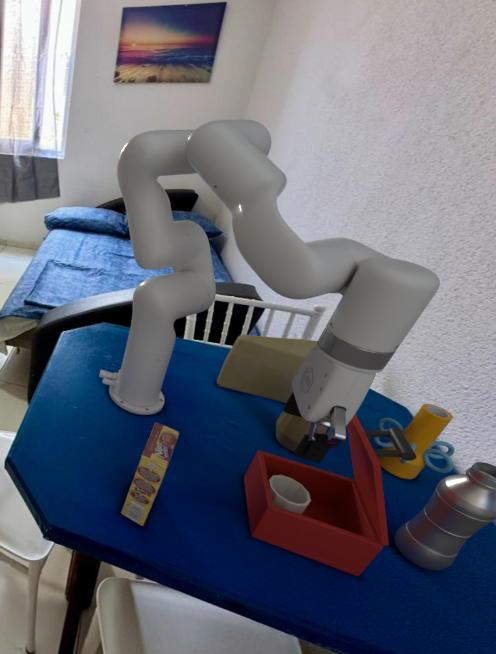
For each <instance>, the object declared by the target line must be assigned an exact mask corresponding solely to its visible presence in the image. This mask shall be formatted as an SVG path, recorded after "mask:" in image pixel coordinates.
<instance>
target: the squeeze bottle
mask: <svg viewBox="0 0 496 654" xmlns="http://www.w3.org/2000/svg"><path fill="white" fill-rule="evenodd" d="M321 420H323V421H326V422H330V418H327V417H324V418H322V419H321ZM310 426H311V421H306V420H305V419H304V418H302V417H298V416H295V415H291V414H288V413H285V412H284V410H282V412H281V413H280V415H279V416H278V418H277V419H276V421H275V437H276V440H277V441H278V443H279V444H280V445H282V446H283V447H284V448H285V449H287V450H289V451H290V452H293V453H295V452H294V451H295V450H296V448H297V446H298V445H299V443H300V442H301V440H302V438H303V437H304V435H305V434H306V435H309V431H310ZM328 429H329V427H326V426H323V425H319V428H318V433H323V434H327V433H326V432H327V430H328Z"/></svg>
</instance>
